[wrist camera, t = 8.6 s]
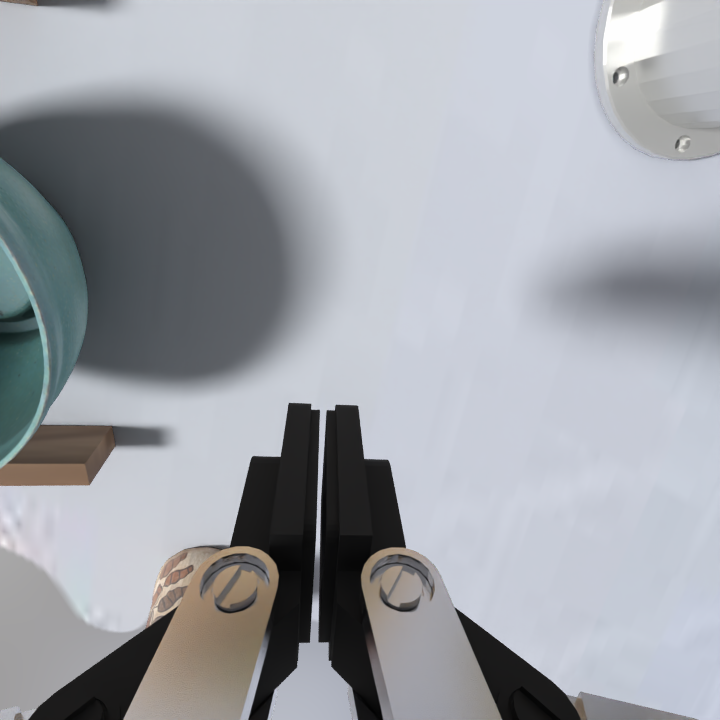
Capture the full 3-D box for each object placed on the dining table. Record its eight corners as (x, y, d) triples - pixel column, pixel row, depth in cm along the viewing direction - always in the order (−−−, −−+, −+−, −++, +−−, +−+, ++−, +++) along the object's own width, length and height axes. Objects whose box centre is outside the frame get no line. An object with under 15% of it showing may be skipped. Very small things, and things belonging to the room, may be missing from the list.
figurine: (144, 587, 36) (74, 772, 26) (187, 532, 34) (130, 707, 24) (222, 615, 39) (188, 795, 28) (266, 565, 37) (248, 738, 26)
